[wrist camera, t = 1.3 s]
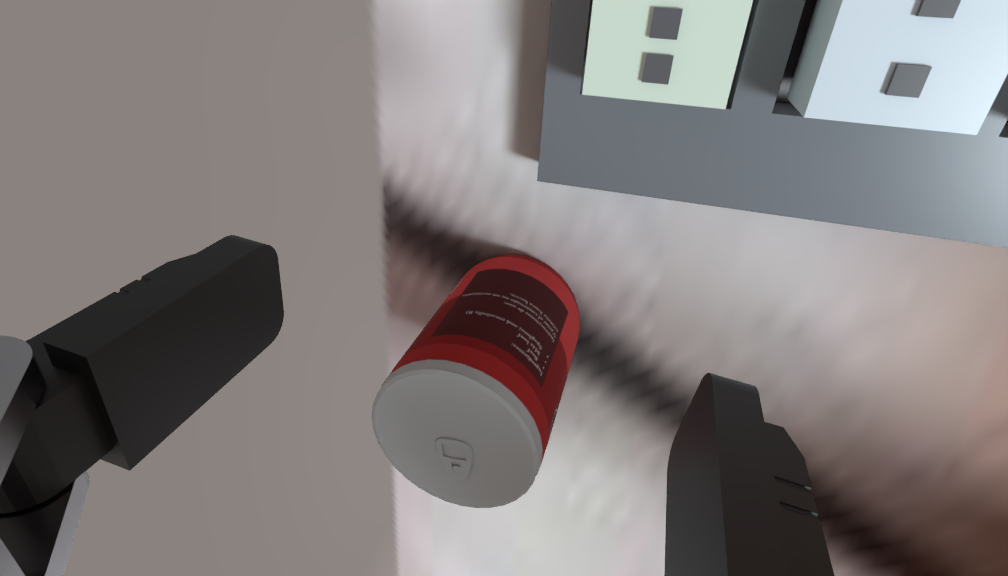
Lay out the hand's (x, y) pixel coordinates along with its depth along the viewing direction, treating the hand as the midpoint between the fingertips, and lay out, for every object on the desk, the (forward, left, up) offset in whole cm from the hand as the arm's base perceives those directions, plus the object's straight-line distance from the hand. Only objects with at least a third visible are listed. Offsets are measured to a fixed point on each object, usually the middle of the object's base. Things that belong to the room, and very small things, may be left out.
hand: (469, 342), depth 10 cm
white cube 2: (-10, -5, -16) cm, 20 cm away
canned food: (+3, +11, -19) cm, 22 cm away
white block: (-2, -5, -16) cm, 17 cm away
